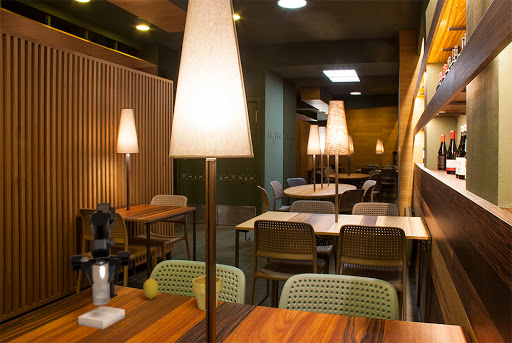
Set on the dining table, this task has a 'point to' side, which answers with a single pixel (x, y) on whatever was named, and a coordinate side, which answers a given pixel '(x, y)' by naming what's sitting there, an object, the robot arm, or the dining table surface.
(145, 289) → the lemon
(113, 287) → the robot arm
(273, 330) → the dining table surface
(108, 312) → the serving tray
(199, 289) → the plant pot
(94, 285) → the metal water bottle
